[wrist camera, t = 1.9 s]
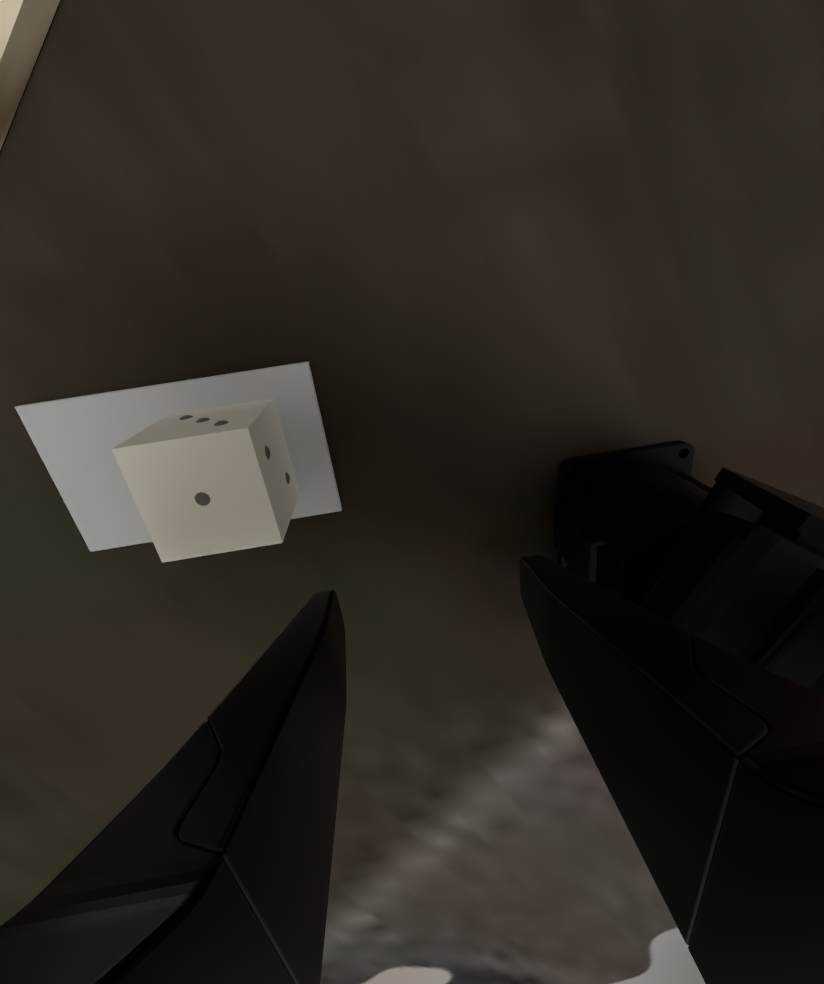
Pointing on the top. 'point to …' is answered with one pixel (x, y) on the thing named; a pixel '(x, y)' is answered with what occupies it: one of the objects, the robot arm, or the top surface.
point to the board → (20, 50)
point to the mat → (123, 413)
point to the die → (211, 480)
